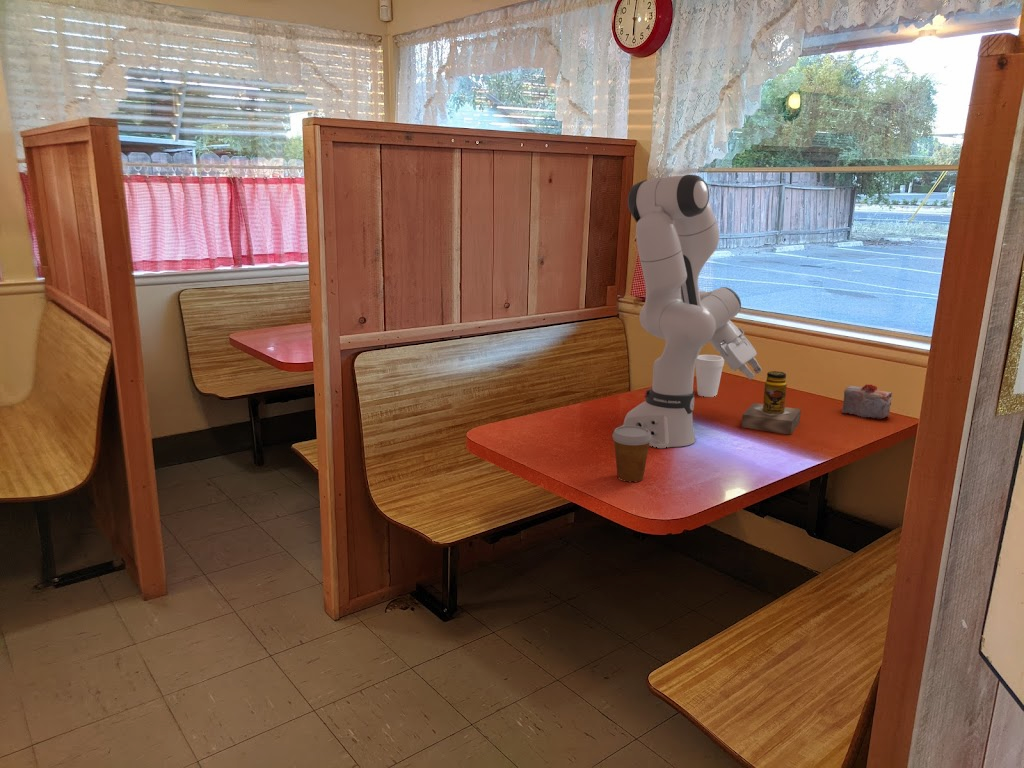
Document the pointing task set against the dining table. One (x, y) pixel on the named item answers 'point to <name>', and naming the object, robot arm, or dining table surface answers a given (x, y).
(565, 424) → the dining table surface
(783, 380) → the condiment
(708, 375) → the foam cup
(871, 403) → the food item
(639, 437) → the disposable coffee cup
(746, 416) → the base
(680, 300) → the robot arm
